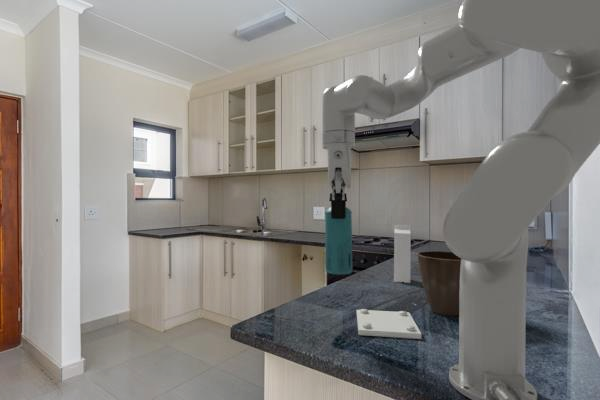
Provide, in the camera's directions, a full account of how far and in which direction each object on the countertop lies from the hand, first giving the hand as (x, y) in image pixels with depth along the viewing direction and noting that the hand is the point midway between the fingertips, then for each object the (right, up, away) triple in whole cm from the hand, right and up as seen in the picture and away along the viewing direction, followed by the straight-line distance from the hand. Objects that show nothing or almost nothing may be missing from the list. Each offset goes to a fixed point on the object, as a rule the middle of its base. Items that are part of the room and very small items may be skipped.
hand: (338, 217), depth 75 cm
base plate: (+12, -27, +5) cm, 31 cm away
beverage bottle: (0, -14, 0) cm, 14 cm away
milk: (+31, -28, +50) cm, 65 cm away
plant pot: (+32, -28, +16) cm, 45 cm away
